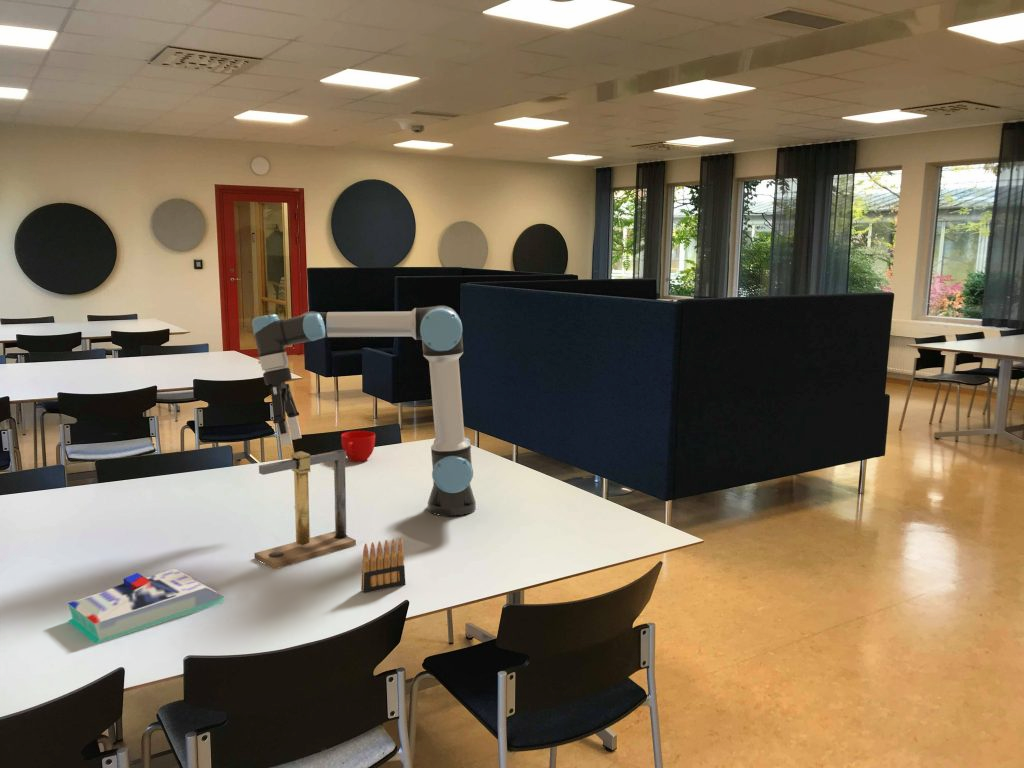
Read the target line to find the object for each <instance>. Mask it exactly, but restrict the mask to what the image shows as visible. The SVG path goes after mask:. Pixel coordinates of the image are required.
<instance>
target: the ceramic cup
mask: <svg viewBox="0 0 1024 768" xmlns="http://www.w3.org/2000/svg"><path fill="white" fill-rule="evenodd" d="M340 437H341V447H342V450H344V451H346V458H348V459H349V460H350V462H366V461H368V459H369V458H370V457H371V456H372V454H373V451H374V449H375V444H376V433H375V432H373V431H368V430H353V431H352V430H351V431H347V432H343V433H341V435H340ZM365 460H366V461H365Z"/></svg>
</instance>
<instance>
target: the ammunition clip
mask: <svg viewBox="0 0 1024 768" xmlns="http://www.w3.org/2000/svg"><path fill="white" fill-rule="evenodd" d="M403 544H404V543H403V540H402V538H401V536H400V537H399V538H398V542H397V546H396V541H395V539H394V538H392V540H391V543H390V547H389V541H388V540H387V539H385V541H384V545H382V543H381V540H379V541H378V543H377V548H376V546H375V544H374V542H373V541H372V542H371V544H370V548H368V544H367V543H364V546H363V552H362V553H363V555H362V564H361V565H362V569H361V589H360V590H361V591H362V592H363V593H364V594H367V593H372V592H376V591H382V590H387V589H391V588H397V587H401V586H405V585H406V573H405V572H406V571H405V569H406V568H405V560H404V559H405V558H404V556H405V555H404V547H403V546H404V545H403ZM382 546H383V547H382ZM369 549H370V551H369Z"/></svg>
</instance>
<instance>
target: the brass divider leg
mask: <svg viewBox="0 0 1024 768" xmlns="http://www.w3.org/2000/svg"><path fill="white" fill-rule="evenodd" d="M310 456H311V453H308V452H305V451H301V450H300V451H295V452H291V458H290V459H299V468H295V469H291V471H292V472H293V477H294V478H293V479H294V481H293V482H294V483H293V485H294V515H295V516H294V517H295V518H294V520H295V542H296V543H297V544H301V545H305V544H307V543H309V542H310V538H311V535H310V534H311V533H310V532H311V531H310V500H309V499H310V497H309V496H310V494H309V491H310V487H309V473H310V472H311V465H310Z"/></svg>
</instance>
